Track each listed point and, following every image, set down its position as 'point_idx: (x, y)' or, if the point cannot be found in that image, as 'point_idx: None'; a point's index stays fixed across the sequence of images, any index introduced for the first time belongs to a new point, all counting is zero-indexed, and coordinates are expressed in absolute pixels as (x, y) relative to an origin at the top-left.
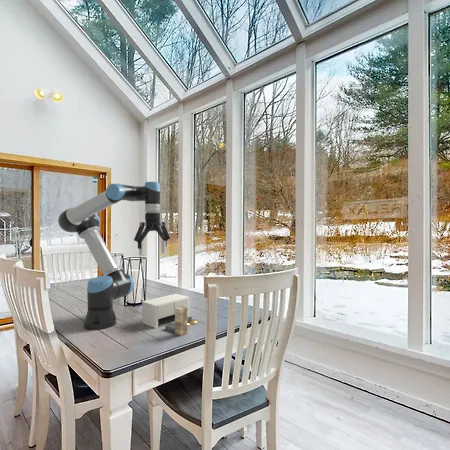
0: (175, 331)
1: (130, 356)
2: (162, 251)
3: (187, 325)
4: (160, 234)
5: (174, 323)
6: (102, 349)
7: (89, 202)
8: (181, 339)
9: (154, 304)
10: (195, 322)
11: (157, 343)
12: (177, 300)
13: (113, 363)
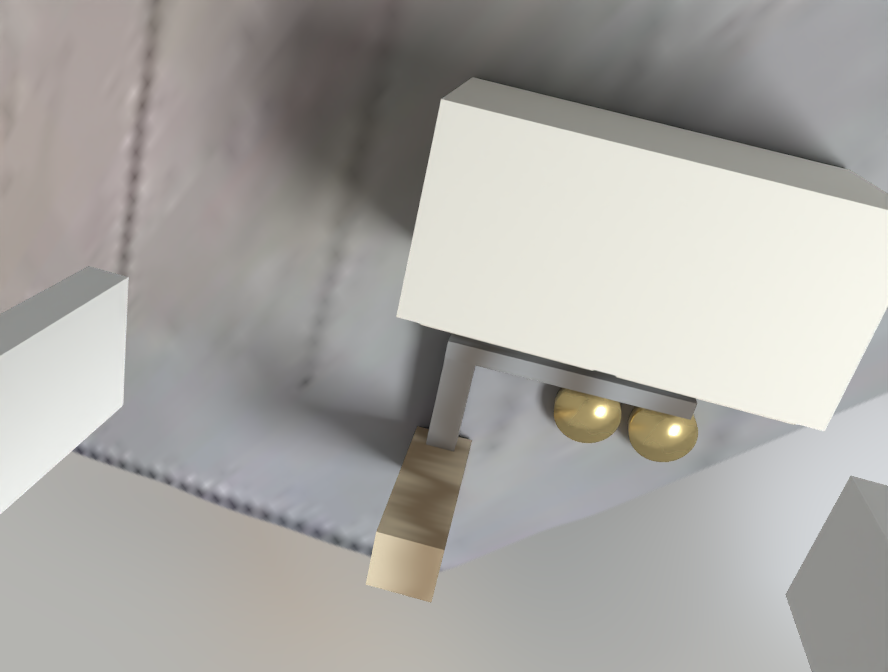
0: (413, 437)
1: None
2: (841, 550)
3: (567, 434)
4: None
5: (515, 371)
6: (18, 197)
7: None
8: (374, 492)
9: (419, 287)
10: (645, 456)
11: (257, 411)
12: (659, 384)
13: None
